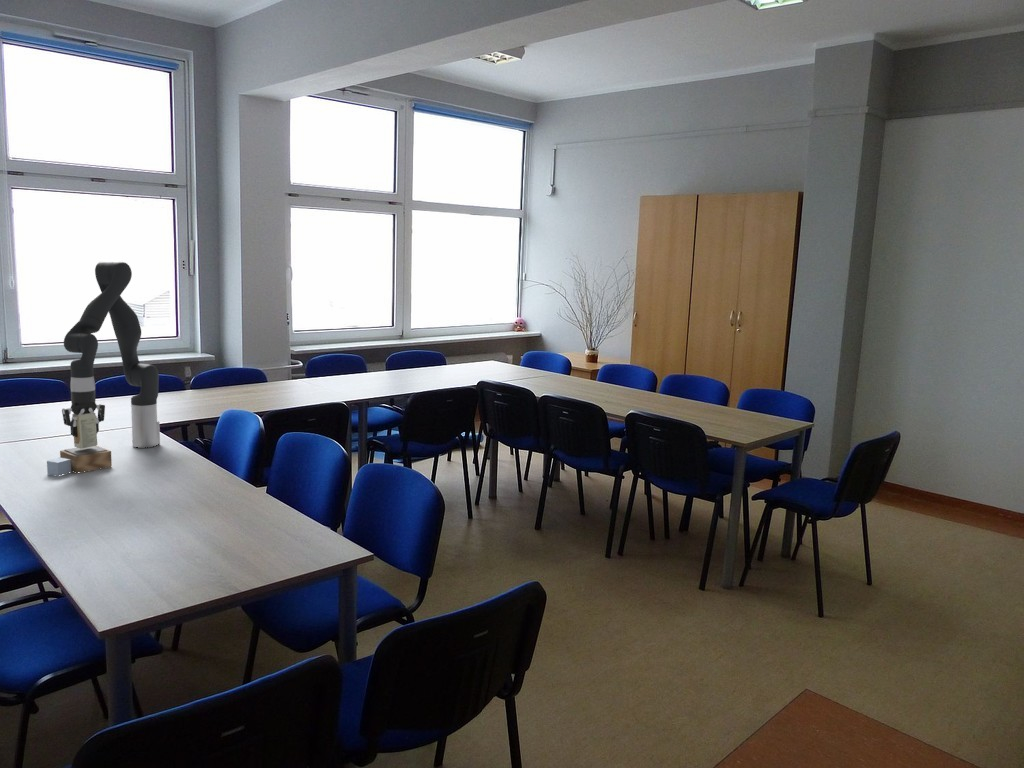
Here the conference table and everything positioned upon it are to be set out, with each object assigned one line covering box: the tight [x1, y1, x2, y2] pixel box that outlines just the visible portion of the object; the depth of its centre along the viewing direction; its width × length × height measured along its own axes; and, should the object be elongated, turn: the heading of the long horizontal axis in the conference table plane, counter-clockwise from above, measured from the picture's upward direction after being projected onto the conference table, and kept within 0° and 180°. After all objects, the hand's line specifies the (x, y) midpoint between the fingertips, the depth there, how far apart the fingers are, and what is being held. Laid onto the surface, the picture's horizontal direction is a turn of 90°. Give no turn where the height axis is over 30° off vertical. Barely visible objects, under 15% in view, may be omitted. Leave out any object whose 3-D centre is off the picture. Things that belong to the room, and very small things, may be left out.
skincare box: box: [71, 412, 98, 449], centre depth 269 cm, size 6×4×12 cm
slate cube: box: [46, 457, 72, 477], centre depth 262 cm, size 5×5×5 cm
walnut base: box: [59, 445, 113, 474], centre depth 271 cm, size 12×12×6 cm
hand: (85, 434), depth 269 cm, fingers closed on skincare box, 6 cm apart
